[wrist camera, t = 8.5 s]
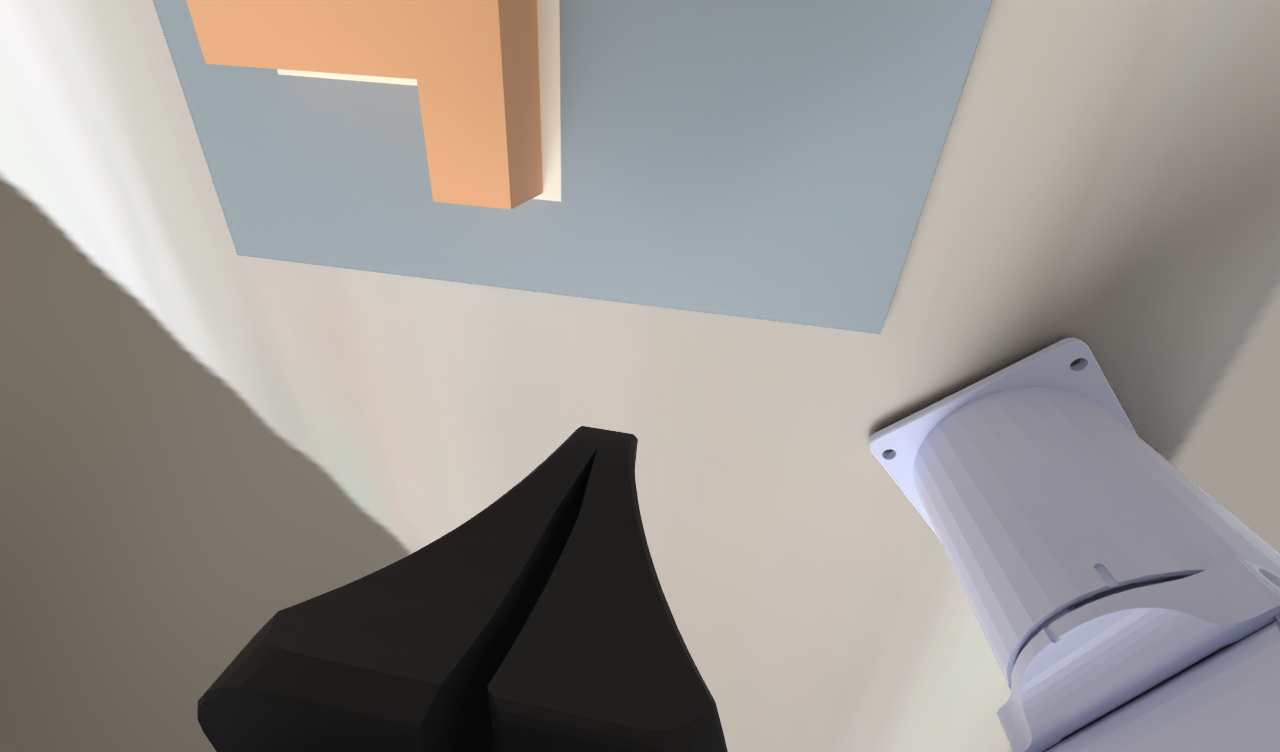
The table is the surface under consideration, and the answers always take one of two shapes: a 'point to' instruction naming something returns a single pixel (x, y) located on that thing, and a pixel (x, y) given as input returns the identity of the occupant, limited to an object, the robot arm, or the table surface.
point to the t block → (413, 74)
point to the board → (622, 156)
